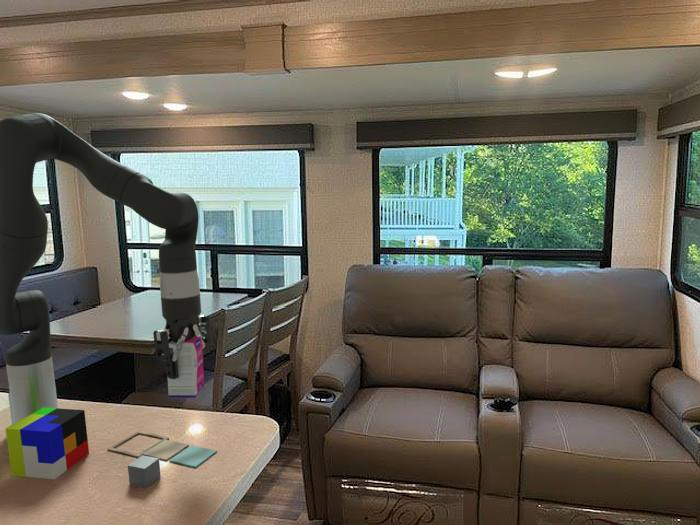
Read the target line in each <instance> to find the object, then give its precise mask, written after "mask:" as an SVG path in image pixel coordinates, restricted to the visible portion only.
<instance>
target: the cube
mask: <svg viewBox="0 0 700 525" xmlns="http://www.w3.org/2000/svg"><path fill="white" fill-rule="evenodd" d="M127 471H128V472H127V473H128V481H129V485H130V486H135V487H139V488H145V489H148V487H150V486H151V485H153V484H154V483H155V482H156V481H158V480H159V479H160V478H161V465H160V459H159V458H154V457H149V456H144V455H142V456H141V457H139V458H138V457H137V458H136V459H135V460H133V462H131V463H129V464H128V465H127Z"/></svg>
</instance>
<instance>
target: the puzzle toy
mask: <svg viewBox="0 0 700 525" xmlns="http://www.w3.org/2000/svg"><path fill="white" fill-rule="evenodd" d="M5 435H6V442H7V450H8V459H9V464H10V465H9V466H10V474H11V475H12V476H17V477H28V478H37V479H46V480H47V479H48V480H56V479H58V478H59V477H60V476H62V475H63V474H64V473H65V472H67V471H68V470H69V469H71V468H73V465H74V464H75V465H77V464H78V463H79V462H80V461H82V460H83V459H84V458H85V456H86V457H87V456H88V455H90V449H89V447H90V446H89V441H88V440H89V439H88V429H87V421H86V413H85V410H84V409H73V408H59V407H58V408H45V407H44V408H42V409H40V410H38V411H36V412H35V413H33V414H31V415H29V416H27V417H25V418H24V419H22V420H20V421H18V422H16V423H15V424H13V425H12V424H11V425H9V426H7V427H6V428H5ZM82 458H83V459H82ZM81 459H82V460H81ZM78 461H79V462H78ZM77 462H78V463H77ZM75 465H74V466H75ZM70 467H71V468H70Z"/></svg>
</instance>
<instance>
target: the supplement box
mask: <svg viewBox="0 0 700 525" xmlns="http://www.w3.org/2000/svg"><path fill="white" fill-rule="evenodd" d="M169 344H173V345H176V344H177V343H176V342H173V341H172V342H169ZM203 352H204V351H203ZM203 352H202V339H201V337H198V338H197V337H194V338H192V339H189V340H186V341H184V343H183V347H182V349H181V350H180V351H179V353H178V357H177V361H178V374H179V377H178V378H177V379H170V378H168V376H167V375H166V377H167V390H168V393H167V394H168V399H194V398H197V396H198V395H199V393H200V392H202V390H203V389H205V375H204V373H205V372H204V365H203ZM172 353H173V349H170V355H172Z"/></svg>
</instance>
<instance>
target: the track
mask: <svg viewBox="0 0 700 525" xmlns="http://www.w3.org/2000/svg"><path fill="white" fill-rule="evenodd" d="M139 435H143V436H147V437H152V438H156V439H161V440H159V441H157V442H156V443H155V444H153V445H152V446H150V447H147V449H145V450H143V451H142V452H139V453H135V452H130V451H127V450H124V449H123V450H122V449H119V448H117V447H119V446H121V445H122V444H124V443H126V442H128V441H129V440H131V439H133V438H134V437H136V436H139ZM107 451H110V452H114V453H117V452H118V454H121V453H122V454H123V455H125V454H126V455H127V456H129V457H135V458H137V459H138V458H139V457H141V456H142V455H143V456H149V457H154V458H159V460H161V461H165V462H167V461H168V460H169V462H170V463H174V464H177V465H178V464H179V465H182V466H187V467H191V468H195V469H197V467H199V466H200V465H202V464H203V463H204V462H206V461H207V460H209V459H210V458H211V457H212V456H214V455H215V454H216V453H217V452H218V451H217V450H215V449H211V448H205V447H202V446H198V445H193V444H192V445H189V444H187V443H183V442H178V441H173V440H170V437H169V436H165V435H159V434H156V433H151V432H150V433H149V432H146V431H142V430H138V431H136V432H135V433H133V434H131V435H128V437H126V438H124V439H122V440H120V441H119V442H117V443H115V444H114V445H112V446H110V447H108V448H107Z"/></svg>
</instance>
